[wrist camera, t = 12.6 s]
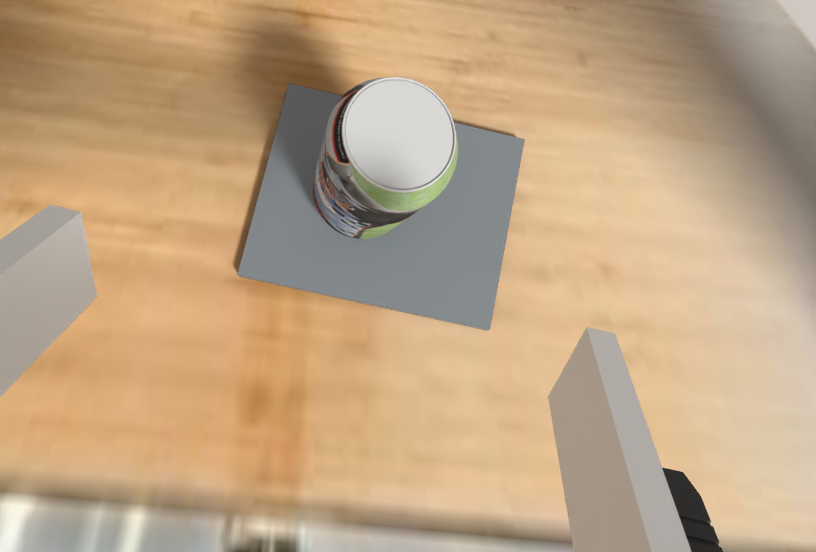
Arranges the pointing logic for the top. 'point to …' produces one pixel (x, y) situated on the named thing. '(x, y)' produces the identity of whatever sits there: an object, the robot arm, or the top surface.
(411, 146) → the beverage can
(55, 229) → the robot arm
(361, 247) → the rubber mat
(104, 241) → the top surface
